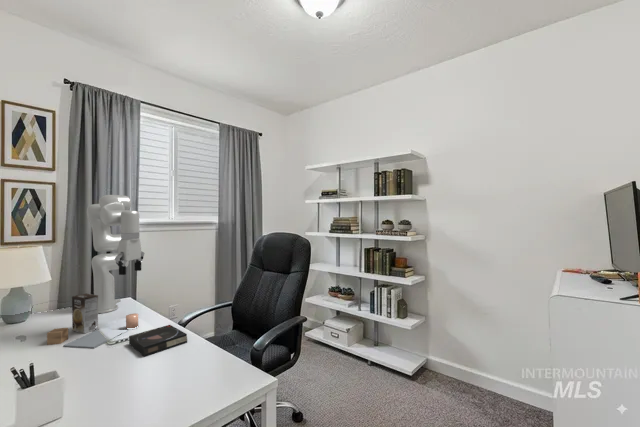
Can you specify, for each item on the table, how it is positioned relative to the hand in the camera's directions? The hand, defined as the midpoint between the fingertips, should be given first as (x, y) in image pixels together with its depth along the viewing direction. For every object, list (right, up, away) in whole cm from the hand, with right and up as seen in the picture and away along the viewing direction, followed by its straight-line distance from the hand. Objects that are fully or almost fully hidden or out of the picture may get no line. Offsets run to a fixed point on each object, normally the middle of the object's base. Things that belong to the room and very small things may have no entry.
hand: (130, 272), depth 143 cm
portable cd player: (+22, -27, -17) cm, 39 cm away
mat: (-7, -27, -12) cm, 30 cm away
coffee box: (-20, -27, -2) cm, 33 cm away
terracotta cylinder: (+1, -26, 0) cm, 26 cm away
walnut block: (-22, -27, -15) cm, 37 cm away
